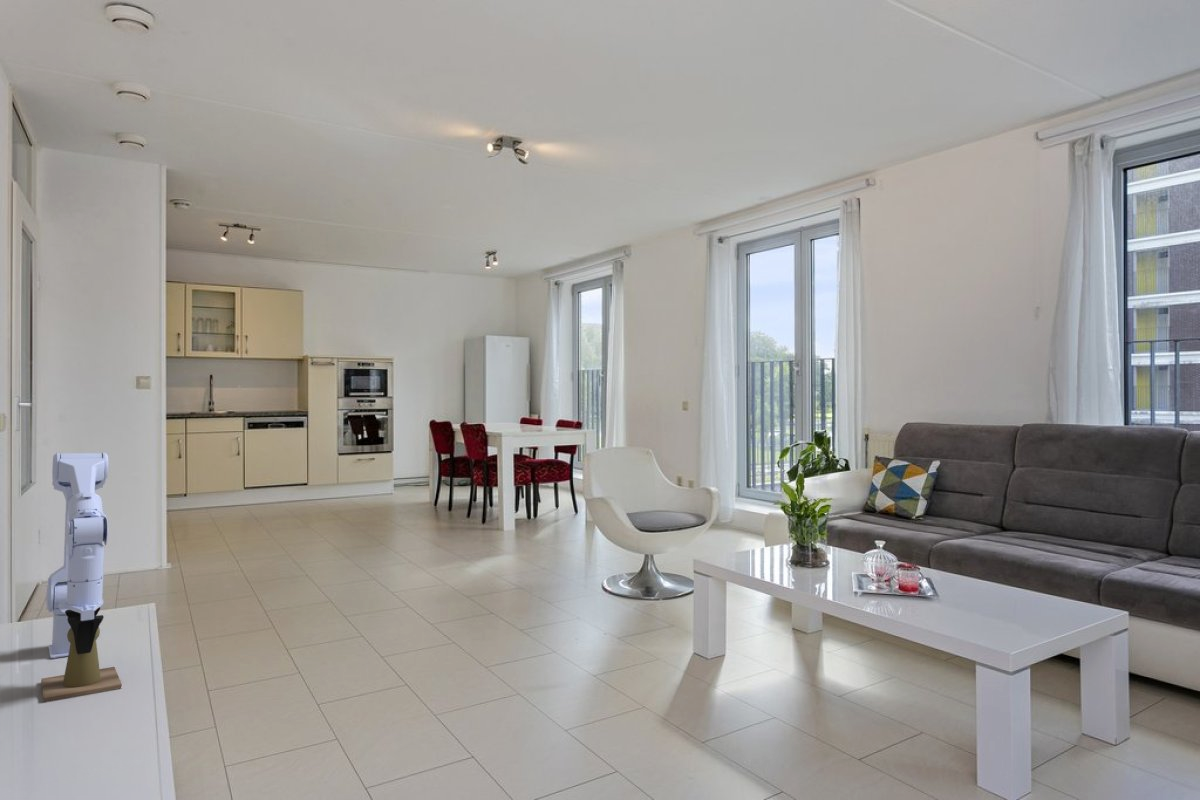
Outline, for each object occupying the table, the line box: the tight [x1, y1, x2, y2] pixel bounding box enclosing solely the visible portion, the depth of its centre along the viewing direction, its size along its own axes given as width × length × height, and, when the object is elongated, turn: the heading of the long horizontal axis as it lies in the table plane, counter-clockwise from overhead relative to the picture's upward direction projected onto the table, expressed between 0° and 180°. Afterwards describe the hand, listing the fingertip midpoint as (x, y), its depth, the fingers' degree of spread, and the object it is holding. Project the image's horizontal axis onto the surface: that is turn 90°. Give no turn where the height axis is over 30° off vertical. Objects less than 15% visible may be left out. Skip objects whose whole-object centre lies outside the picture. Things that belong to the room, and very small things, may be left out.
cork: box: [63, 626, 101, 687], centre depth 142 cm, size 6×6×11 cm
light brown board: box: [40, 666, 123, 703], centre depth 142 cm, size 12×12×1 cm
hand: (82, 649), depth 142 cm, fingers open, 5 cm apart
